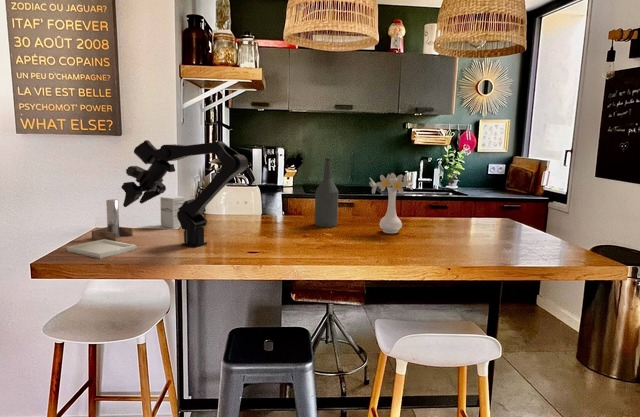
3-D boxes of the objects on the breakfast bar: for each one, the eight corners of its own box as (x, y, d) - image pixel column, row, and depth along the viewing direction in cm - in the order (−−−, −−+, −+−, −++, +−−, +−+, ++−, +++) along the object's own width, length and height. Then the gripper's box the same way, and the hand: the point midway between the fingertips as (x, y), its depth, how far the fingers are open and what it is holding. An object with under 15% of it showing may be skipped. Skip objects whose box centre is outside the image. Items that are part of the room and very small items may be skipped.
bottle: (310, 223, 212) (312, 157, 207) (329, 222, 217) (331, 157, 212) (321, 228, 203) (323, 158, 198) (341, 226, 208) (343, 158, 203)
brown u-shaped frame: (133, 235, 179) (132, 227, 178) (115, 241, 169) (114, 233, 168) (110, 233, 181) (110, 226, 180) (91, 239, 171) (91, 231, 170)
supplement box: (160, 226, 197) (159, 196, 195) (173, 223, 203) (172, 194, 201) (173, 228, 193) (172, 198, 191) (186, 225, 200) (185, 196, 198)
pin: (122, 237, 176) (120, 200, 173) (112, 239, 172) (111, 201, 170) (114, 235, 177) (113, 199, 175) (105, 237, 174) (103, 200, 172)
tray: (136, 249, 158) (136, 245, 158) (99, 258, 146) (99, 253, 146) (104, 243, 165) (104, 239, 165) (67, 251, 153) (66, 247, 153)
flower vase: (363, 229, 202) (365, 171, 198) (402, 228, 207) (405, 171, 203) (375, 236, 190) (378, 174, 186) (416, 234, 195) (419, 174, 191)
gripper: (155, 156, 177) (133, 187, 181) (122, 158, 159) (99, 192, 163) (176, 176, 176) (153, 206, 180) (145, 181, 158) (121, 214, 162)
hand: (132, 204), depth 172 cm, fingers open, 9 cm apart
